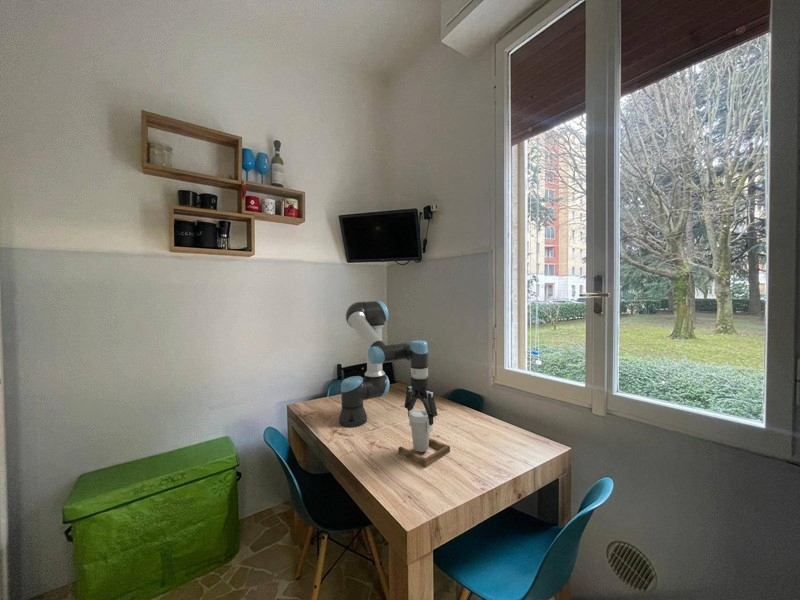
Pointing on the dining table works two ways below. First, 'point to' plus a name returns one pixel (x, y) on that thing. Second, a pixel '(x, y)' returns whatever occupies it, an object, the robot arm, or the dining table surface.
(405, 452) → the bracket
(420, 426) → the coffee cup
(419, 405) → the dining table surface
